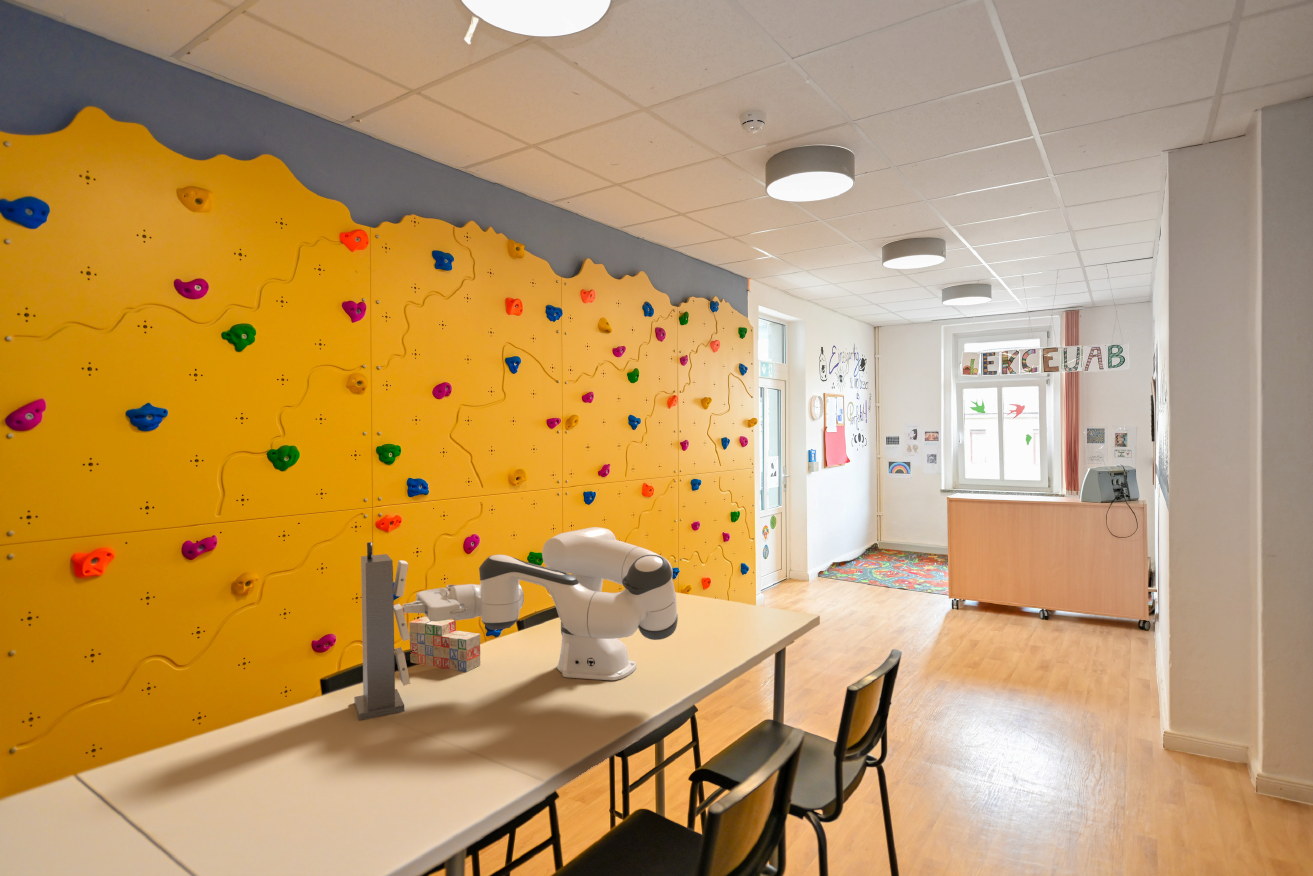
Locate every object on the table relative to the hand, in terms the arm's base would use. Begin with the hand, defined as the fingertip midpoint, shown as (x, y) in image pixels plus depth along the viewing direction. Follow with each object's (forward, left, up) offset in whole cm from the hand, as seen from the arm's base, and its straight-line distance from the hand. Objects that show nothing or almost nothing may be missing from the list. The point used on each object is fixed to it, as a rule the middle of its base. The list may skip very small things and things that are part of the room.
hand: (403, 608), depth 166 cm
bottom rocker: (0, 0, -18) cm, 18 cm away
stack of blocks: (+10, -26, -24) cm, 37 cm away
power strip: (+4, +5, -23) cm, 24 cm away
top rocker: (+1, +1, +4) cm, 4 cm away
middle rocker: (0, 0, -7) cm, 7 cm away
